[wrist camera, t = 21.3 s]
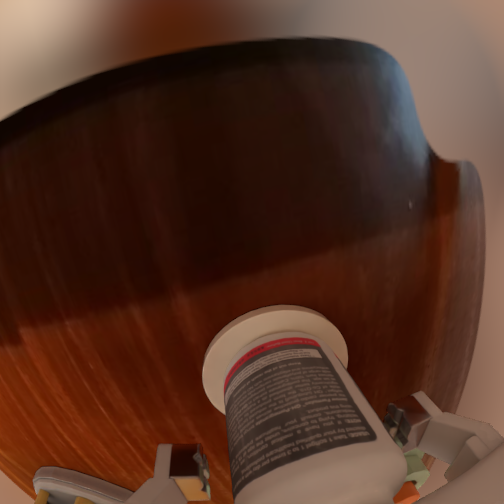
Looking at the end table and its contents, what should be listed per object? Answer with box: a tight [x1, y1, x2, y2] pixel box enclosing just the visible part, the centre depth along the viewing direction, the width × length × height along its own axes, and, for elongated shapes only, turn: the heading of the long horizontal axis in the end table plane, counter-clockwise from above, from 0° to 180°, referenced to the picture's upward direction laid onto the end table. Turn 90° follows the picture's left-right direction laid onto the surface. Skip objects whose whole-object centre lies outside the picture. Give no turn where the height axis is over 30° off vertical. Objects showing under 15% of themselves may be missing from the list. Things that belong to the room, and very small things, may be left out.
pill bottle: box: [223, 332, 407, 504], centre depth 8 cm, size 5×5×10 cm
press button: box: [393, 481, 420, 504], centre depth 13 cm, size 4×4×2 cm
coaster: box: [202, 305, 348, 414], centre depth 13 cm, size 7×7×1 cm
